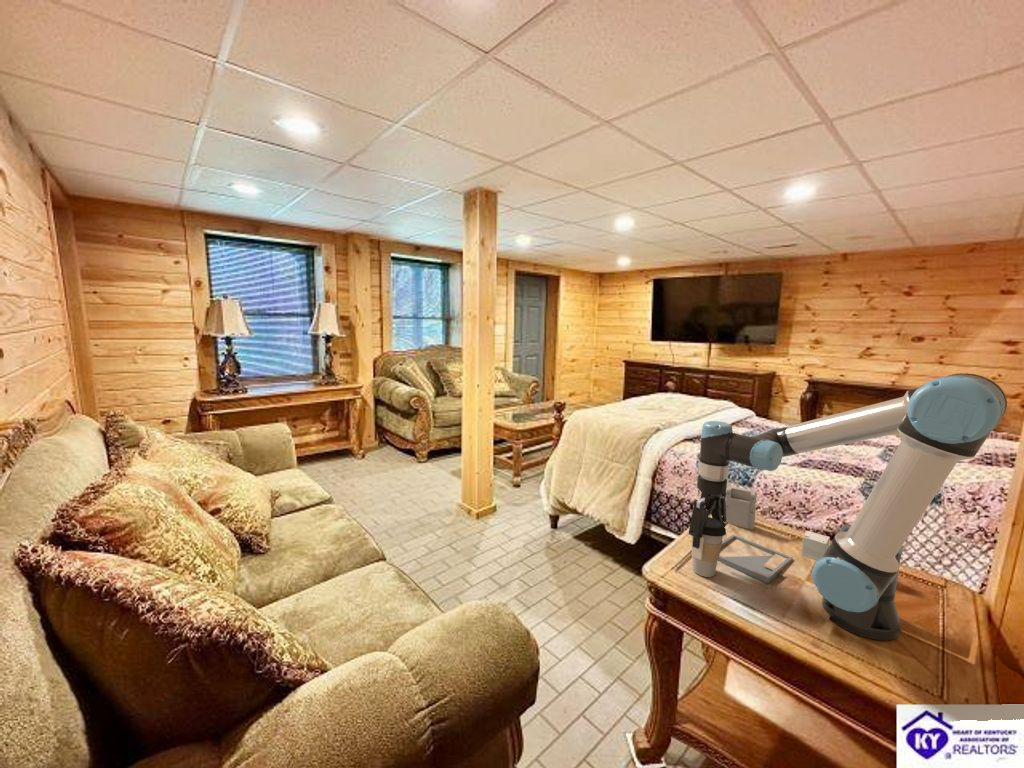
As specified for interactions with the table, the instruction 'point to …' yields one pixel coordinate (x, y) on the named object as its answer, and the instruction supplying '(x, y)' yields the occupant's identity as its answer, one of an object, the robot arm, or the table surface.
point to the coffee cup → (710, 548)
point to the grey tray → (754, 562)
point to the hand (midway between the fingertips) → (705, 551)
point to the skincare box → (814, 545)
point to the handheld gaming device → (740, 507)
